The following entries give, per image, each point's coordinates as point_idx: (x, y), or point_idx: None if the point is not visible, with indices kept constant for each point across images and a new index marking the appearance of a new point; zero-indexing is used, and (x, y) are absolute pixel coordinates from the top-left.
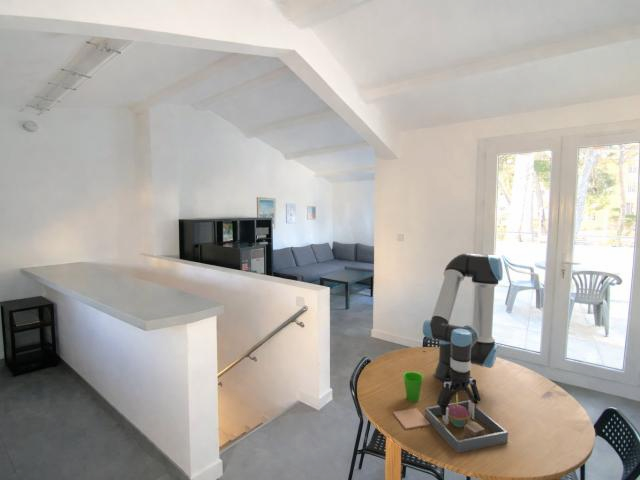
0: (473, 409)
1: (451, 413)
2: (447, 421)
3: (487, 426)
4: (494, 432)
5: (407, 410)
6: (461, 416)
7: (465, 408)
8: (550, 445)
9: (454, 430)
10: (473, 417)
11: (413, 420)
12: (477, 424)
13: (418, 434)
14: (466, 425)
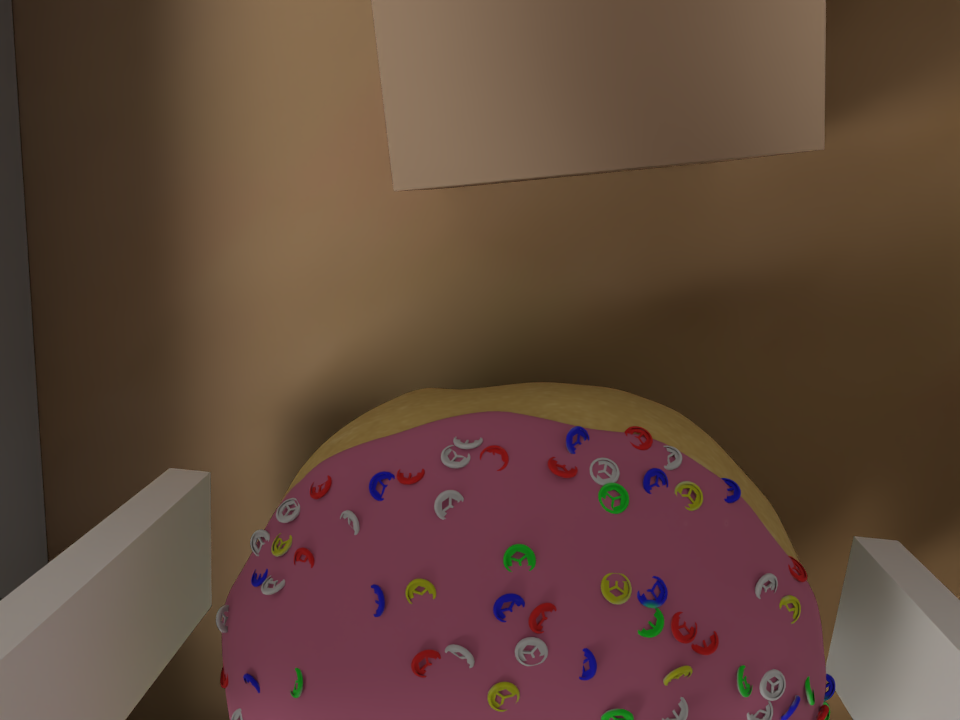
0: (47, 595)
1: (817, 696)
2: (896, 568)
3: (23, 250)
4: (8, 37)
5: None
6: (654, 470)
7: (280, 703)
8: None
9: (750, 388)
10: (169, 482)
11: None
12: (401, 9)
13: None
14: (787, 94)
